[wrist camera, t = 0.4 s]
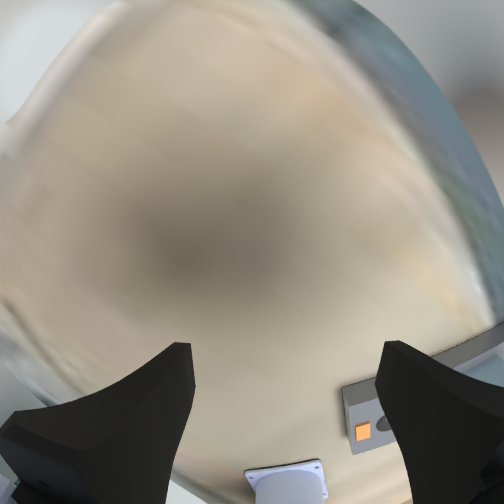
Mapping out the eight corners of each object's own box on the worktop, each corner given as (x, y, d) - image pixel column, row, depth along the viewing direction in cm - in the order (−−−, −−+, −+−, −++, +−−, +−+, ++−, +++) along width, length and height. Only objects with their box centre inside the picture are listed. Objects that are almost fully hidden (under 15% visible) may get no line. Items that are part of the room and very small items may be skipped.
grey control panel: (495, 374, 22) (508, 387, 19) (347, 436, 24) (353, 457, 21) (505, 321, 20) (522, 333, 18) (341, 387, 22) (349, 409, 19)
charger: (480, 381, 21) (520, 427, 14) (435, 403, 22) (471, 459, 14) (487, 345, 20) (535, 391, 12) (440, 368, 21) (484, 426, 13)
